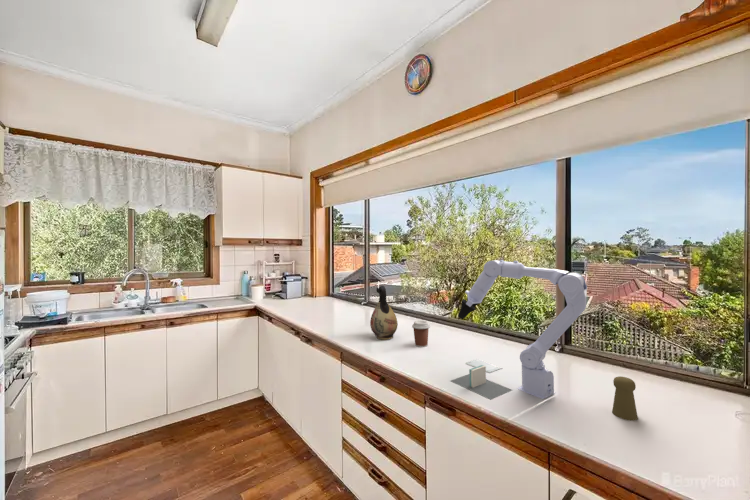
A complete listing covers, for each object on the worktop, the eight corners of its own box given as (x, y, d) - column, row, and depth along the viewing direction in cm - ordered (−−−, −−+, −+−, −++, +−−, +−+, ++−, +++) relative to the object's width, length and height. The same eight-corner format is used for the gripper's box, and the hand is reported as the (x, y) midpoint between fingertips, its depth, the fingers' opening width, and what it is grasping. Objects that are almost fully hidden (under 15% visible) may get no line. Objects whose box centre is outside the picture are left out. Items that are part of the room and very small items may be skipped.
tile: (485, 382, 117) (485, 366, 117) (473, 387, 113) (472, 370, 113) (482, 381, 118) (482, 365, 118) (469, 385, 114) (469, 369, 114)
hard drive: (465, 362, 136) (489, 371, 125) (478, 358, 140) (502, 367, 130) (465, 366, 136) (489, 376, 125) (478, 362, 140) (502, 371, 130)
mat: (512, 391, 110) (512, 389, 110) (490, 401, 104) (490, 399, 104) (471, 374, 126) (471, 373, 126) (449, 382, 119) (449, 380, 119)
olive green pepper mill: (610, 415, 94) (609, 378, 94) (614, 407, 98) (613, 372, 98) (636, 423, 90) (635, 384, 90) (639, 414, 94) (638, 377, 94)
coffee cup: (408, 345, 164) (408, 322, 164) (420, 341, 170) (419, 319, 170) (422, 349, 158) (422, 325, 157) (433, 345, 164) (433, 322, 164)
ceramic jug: (368, 335, 185) (367, 283, 185) (394, 333, 188) (393, 282, 187) (373, 343, 168) (372, 287, 168) (401, 341, 171) (400, 286, 171)
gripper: (476, 277, 129) (459, 303, 134) (467, 285, 117) (449, 314, 121) (491, 287, 126) (474, 313, 131) (484, 296, 114) (465, 325, 119)
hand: (463, 314), depth 126 cm, fingers open, 7 cm apart
